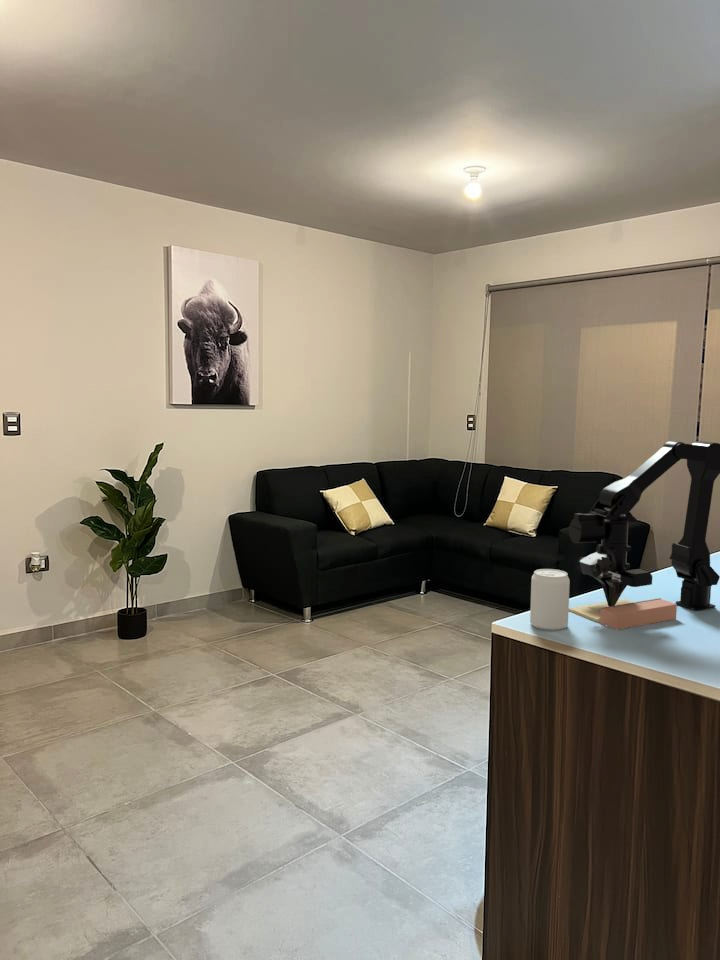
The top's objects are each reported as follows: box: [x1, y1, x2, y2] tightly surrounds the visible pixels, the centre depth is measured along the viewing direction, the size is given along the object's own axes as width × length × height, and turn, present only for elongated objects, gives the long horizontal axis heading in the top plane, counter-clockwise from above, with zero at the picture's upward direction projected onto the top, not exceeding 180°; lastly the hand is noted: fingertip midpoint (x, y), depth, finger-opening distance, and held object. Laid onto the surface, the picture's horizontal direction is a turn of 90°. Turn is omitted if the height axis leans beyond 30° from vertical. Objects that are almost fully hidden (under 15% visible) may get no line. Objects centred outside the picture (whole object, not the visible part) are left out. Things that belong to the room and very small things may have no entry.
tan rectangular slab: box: [568, 598, 635, 623], centre depth 172 cm, size 18×10×1 cm, turn 115°
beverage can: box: [529, 568, 571, 631], centre depth 161 cm, size 8×8×12 cm
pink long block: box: [599, 597, 678, 630], centre depth 165 cm, size 18×5×4 cm, turn 115°
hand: (611, 606), depth 172 cm, fingers closed
